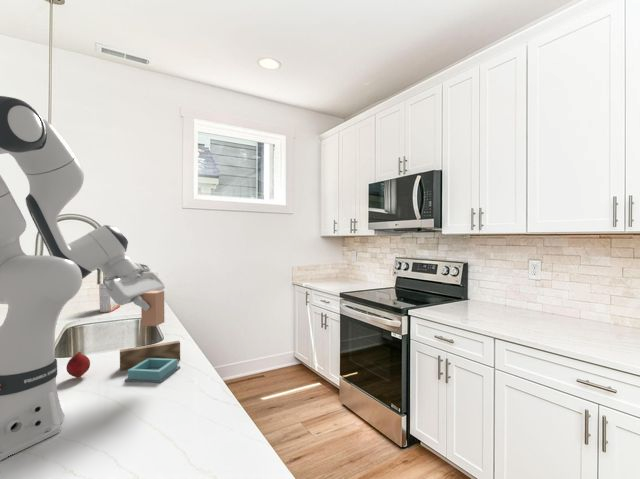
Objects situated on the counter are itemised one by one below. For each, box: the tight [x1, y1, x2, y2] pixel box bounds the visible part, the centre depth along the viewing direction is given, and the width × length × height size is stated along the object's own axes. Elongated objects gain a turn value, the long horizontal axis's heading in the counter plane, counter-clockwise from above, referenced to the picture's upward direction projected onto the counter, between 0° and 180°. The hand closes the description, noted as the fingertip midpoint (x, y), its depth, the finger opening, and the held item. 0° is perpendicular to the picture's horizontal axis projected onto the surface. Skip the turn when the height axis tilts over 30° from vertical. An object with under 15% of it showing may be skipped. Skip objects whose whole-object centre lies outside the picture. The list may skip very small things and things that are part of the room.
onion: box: [66, 350, 91, 379], centre depth 102 cm, size 6×6×8 cm
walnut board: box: [119, 340, 181, 372], centre depth 113 cm, size 18×2×6 cm, turn 121°
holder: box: [124, 358, 181, 384], centre depth 104 cm, size 11×11×3 cm
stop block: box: [140, 290, 165, 327], centre depth 104 cm, size 5×5×10 cm
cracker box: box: [98, 284, 121, 313], centre depth 193 cm, size 14×6×21 cm, turn 10°
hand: (154, 306), depth 104 cm, fingers closed on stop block, 5 cm apart
